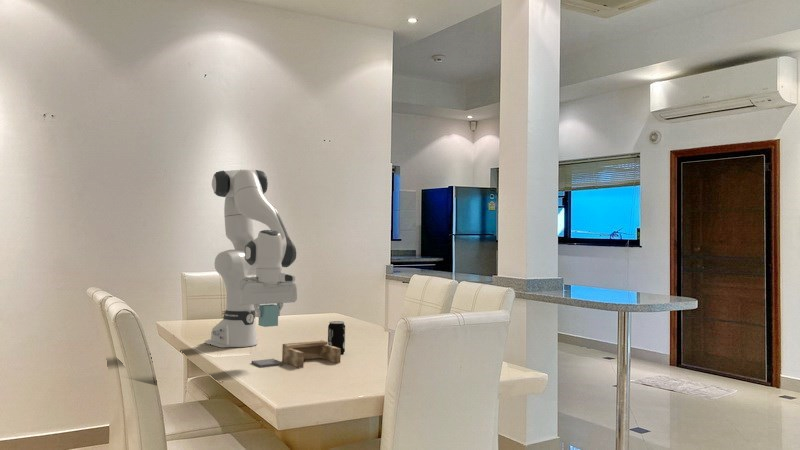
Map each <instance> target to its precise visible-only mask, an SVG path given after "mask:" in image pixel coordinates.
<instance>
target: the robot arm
mask: <svg viewBox="0 0 800 450" xmlns="http://www.w3.org/2000/svg"><path fill="white" fill-rule="evenodd" d="M211 187H212V188H211V189H212V190H213V193H214V194H215V196H217V197H221V198H225V199H224V208H223V210H224V212H223V214H224V230H225V236H226V238H227V239H228V240H230V243H232V245H233V248H234V249H227V250H224V251H221V252H219V253H218V254H217V255H216V256H215V258H214V264H213V265H214V269H215V271H216V273H218V274H219V276H220V277H221V278H222V280H223V282H224V286H225V292H226V310H224V311H223V310H222V315H223V317H222V318H223V319H222V320H221V321H219V322H218V323H217V324H216V325H215V326H213V327H212V328H211V334H210V338H209V339H206V340H204V344H207V345H210V344H211V346H214V347H219V348H245V347H252V346H257V345H258V341H259V340H258V338H257V329H256V322H255V319H256V318H259V317H262V316H263V315H262V314H263V312H260V310H259V307H260V305H269V304H276V305H278V317H280V315H281V311H282V309H283V307H284V303H285V304H287V303H291V304H292V303H296V301H297V299H298V291H297V289H298V288H297V285H296V283H295V282H296V276H295V275H292V274H289V273H286V272H283V268H289V267H290V266H291V265H293V264H294V262H295V260H296V259H297V248H296V246H295V244H294V242H293V241H292V239H291V238H290V236H289V234H288V232H287V228H286V227H285V225H284V222H283V220H282V218H281V215H280V214H279V212H278V210H277V208H276V207H275V206H273V205H272V204H271V203H270V202H269V201H268V200H267V198H266V197H265V195H264V194H265V193H267V191H268V188H269V179H268V176H267V174H266V173H265V172H264V171H262V170H258V169H255V170H254V169H234V170H233V169H231V170H219V171H217V172H215V173H214V174H213V176H212V179H211ZM253 220H254V221H257V222H259V223H262V224H264V225H266V226H267V227H268V229H263V230H259V232H258V235H257V237H255V231H254V224H253V223H254V221H253ZM255 275H256V276H255ZM248 276H249V277H248ZM250 276H251V277H250Z"/></svg>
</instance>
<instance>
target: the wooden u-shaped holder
mask: <svg viewBox="0 0 800 450" xmlns="http://www.w3.org/2000/svg"><path fill="white" fill-rule="evenodd" d="M281 353H282V355H281V357H282V358H281V360H282V361H281V362H283V363H287V364H289V365H291V366H294V367H296V368H300V369H301V368H304V361H305V360H310V359H318V358H319V359H320V358H321V359H324V360H326V361H329V362H332V363H334V364H340V363H341V355H342V354H341V348H337V347H334V346H331V345H328V341H327V340H322V339H321V340H311V341H310V340H309V341H303V342H302V341H301V342H291V343H282V351H281Z"/></svg>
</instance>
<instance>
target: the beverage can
mask: <svg viewBox="0 0 800 450" xmlns="http://www.w3.org/2000/svg"><path fill="white" fill-rule="evenodd" d="M328 323H329V324H328V326H327V345H331V346H334V347H337V348H341V355H343V354H344V353H345V351H346V347H345V346H346V325H345V322H344V321H341V320H334V321H329V322H328Z"/></svg>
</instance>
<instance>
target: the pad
mask: <svg viewBox="0 0 800 450" xmlns="http://www.w3.org/2000/svg"><path fill="white" fill-rule="evenodd" d="M251 364H252V365H255V366H257V367H259V368H266V367H268V368H269V367H276V366H283V365H284V361H280V360H278V359H275V358H267V359H266V358H265V359H259V360H257V359H256V360H252V361H251Z"/></svg>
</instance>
